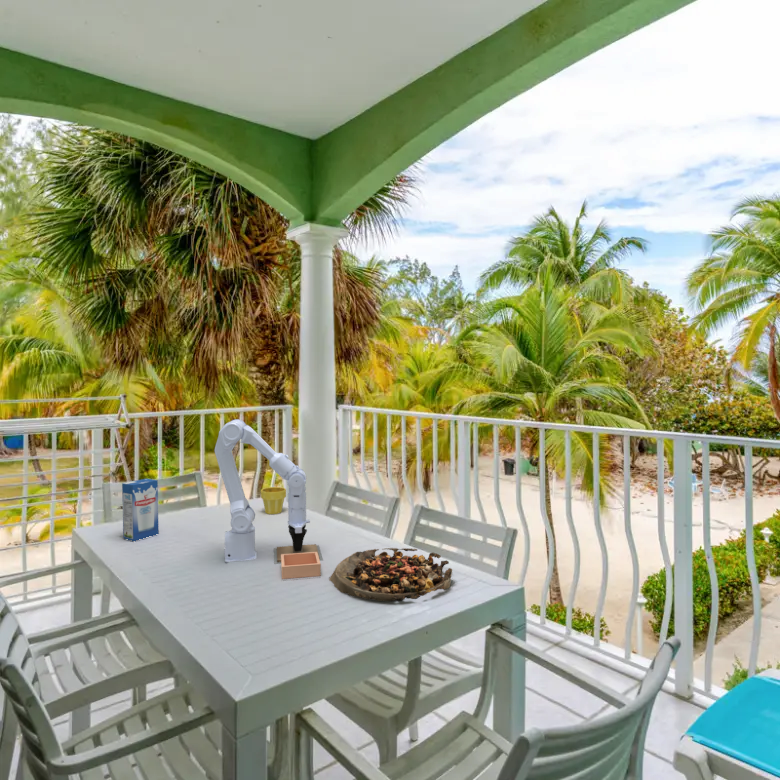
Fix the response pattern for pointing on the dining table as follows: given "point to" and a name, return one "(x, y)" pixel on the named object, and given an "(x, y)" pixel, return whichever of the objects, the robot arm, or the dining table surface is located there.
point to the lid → (291, 550)
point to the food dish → (390, 575)
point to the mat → (280, 562)
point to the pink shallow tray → (300, 565)
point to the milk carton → (140, 509)
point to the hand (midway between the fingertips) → (297, 549)
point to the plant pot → (273, 499)
